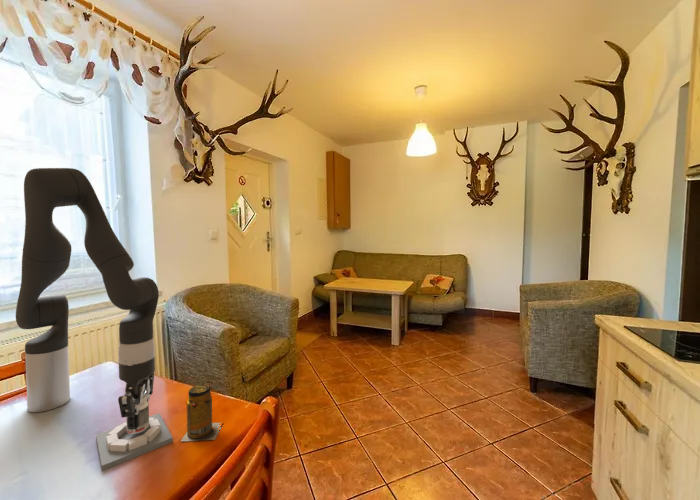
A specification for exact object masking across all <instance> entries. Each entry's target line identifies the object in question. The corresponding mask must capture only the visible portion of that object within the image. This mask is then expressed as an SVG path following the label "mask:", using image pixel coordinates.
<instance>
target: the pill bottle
mask: <svg viewBox="0 0 700 500" xmlns="http://www.w3.org/2000/svg"><path fill="white" fill-rule="evenodd" d="M137 400H138V399H133V401H137ZM149 406H150V405H149V401H147V395H146V394H143V398H142V403H141V404H140V405H139V412H138V413H139V427H138V428H137V429H131V430H129V429H128V417H126V422H127V433H129V434H137V433H140V432H142V431H144V430H146V429H147V428H148V426H149V416H150V409H149V408H150V407H149ZM134 408H135V405H134Z"/></svg>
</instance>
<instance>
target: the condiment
mask: <svg viewBox="0 0 700 500" xmlns="http://www.w3.org/2000/svg"><path fill="white" fill-rule="evenodd" d="M211 389H212V388H211V386H210V385H208V384H204V383H203V384H197V385H195V386H192V387H191V388H190V389H188V393H187V394H188V397H187V398H188V399H187V402H186V431H187V432H186V433H184V435H183V437H182V438H181V440H180V442H197V441H198V442H199V441H200V442H201V441H211V440H212V441H213V440H216V439H217V437H218V435H219V433H220V431H221V429H222V427H220V426H221V425H219V424H220V423H221V422H213V397H212V396H213V395H211V394H212V391H211ZM212 427H213V428H212ZM219 427H220V428H219ZM214 428H215V429H214ZM218 428H219V429H218ZM219 430H220V431H219Z"/></svg>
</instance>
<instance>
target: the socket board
mask: <svg viewBox="0 0 700 500" xmlns="http://www.w3.org/2000/svg"><path fill="white" fill-rule="evenodd" d="M95 438H96V446H97V451H98V456H99V462H100V468H101V471H103V472H104V471H105V470H108V469H110V468H113V467H115V466H117V465H120V464H122V463H125V462H128V461H131V460H132V459H134V458H135V459H136V458H137V457H139V456H142V455H144V454H147V453H149V452H152V451H154V450H157V449H159V448H162V447H165V446H167V445H169V444H172V443H174V442H173V441H174V440H173V439H174V438H173V436H172V434H171V431H170V430H169V429H168V426H167V424H166V423H165V420H164V419H163V417H162V415H161V413H155V414H153V415H149V426H148V428H147V429H146V430H144V431H142V432H140V433H137V434H129V433H127V421H125V422H123V423H121V424H118V425H117V426H115V428H112V429H108V430H105V431H103V432H100V433H97V434H95Z"/></svg>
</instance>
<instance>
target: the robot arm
mask: <svg viewBox="0 0 700 500" xmlns="http://www.w3.org/2000/svg"><path fill="white" fill-rule="evenodd" d="M23 180H24V181H23V199H24V215H25V219H24V220H25V221H24V222H25V224H24V226H25V228H24V237H23V238H24V239H23V247H22V256H21V281H20V282H21V283H20V288H19V293H18V297H17V302H16V308H15V322H16V325H17V326H18V327H19V328H20V329H22V330H34V329H35V330H36V329H41V328H46V327H50V328H49V329H48V330H47V331H45V332H44V333H42V334H40V335H38V336H36V337H33V338H31V339H29V340H27V342H26V343H25V345H24V355H25V356H24V357H25V376H26V383H25V384H26V401H27V402H26V405H27V406H26V407H27V411H28V412H30V413H41V412H45V411H47V412H48V411H51V410H53V409H56V408H58V407H61V406H64V404H67V403H68V402H69V401H70V400H71V390H70V389H71V387H70V362H69V361H70V356H69V355H70V354H69V314H70V313H69V312H70V311H69V307H70V306H69V300H68V298H67V296H66V295H64V294H61V293H59V294H48V295H41V294H42V293H43V292H44V291H45V290H46V289H47V288H49V286H51V285H52V284H54V283H55V282H56V281H57V280H58V279H59V278H60V277H62V276H63V274H65V273H66V272H67V270H68V269H69V266H70V262H71V255H72V245H71V242H70V241H69V240H68V238H67V237H66V235H64V234H63V232H61V231H60V229H59V228H58V227H57V226H56V225H55V224H54V221H53V215H54V214H53V213H54V210H55V209H56V208H60V207H61V208H62V207H71V206H76V207H78V208H79V210H80V211H81V212H82V214H83V216H84V219H85V231H84V240H83V241H84V242H83V243H84V248H85V251H86V253H87V255H88V256H89V257H88V258H89V259H90V260H91V261H92V263H93V264H94V265H95V267H96V269H97V270H98V271H99V273H100V274H101V277H102V281H103V284H104V288H105V291H106V293H107V296H108V299H109V301H111V303H112V305H114V307H116V308H118V309H120V310H123V311H129V312H128V313H127V315H126V316H125V317H124V318H122V319H121V320H120V322H119V325H118V326H119V327H118V331H119V332H118V333H119V334H118V335H119V343H118V345H119V346H118V351H117V352H118V354H117V355H118V378H119V380H121V381H123V382H125V388H124V395H120V396H119V395H118V396H119V397H118V398H117V400H118V407H119V411H120V416H121V418H123V419H124V418H127V417H128V429H129V430H131V429H137V428H138V427H139V413H138V412H139V405H140V404H141V403H142V398H143V394H146V395H147V401H148V402H149V401H150V399H151V396H152V395H153V393H154V380H155V371H156V365H155V364H156V357H155V355H156V354H155V351H156V350H155V341H154V317H155V316H156V310H157V307H158V303H159V297H160V296H159V295H160V294H159V292H160V291H159V288H158V284H157V283H156V282H155V281H154V279H152V278H150V277H137V278H134V279H132V276H131V275H130V271H131V270H132V269H133V268H134V266H135V263H134V260H133V259H132V257H131V256H130V254H129V253H128V251H127V250H126V248H125V247H124V246H123V244H122V243H121V241H120V240H119V239H118V236H116V233H115V232H114V230H113V228H112V226H111V224H110V222H109V219H108V218H107V215H106V212H105V210H104V208H103V207H102V204H101V202H100V200H99V198H98V195H97V194H96V191H95V188H94V187H93V185H92V183H91V182H90V180H89V178H88V177H87V176H86V175H85V173H83V172H82V171H81V170H78V169H77V168H71V167H70V168H69V167H46V168H45V167H40V168H39V167H38V168H32V169H30V170H28V171H27V172H26V174H25V176H24V179H23ZM150 395H151V396H150ZM133 399H138V400H137V401H133ZM134 405H135V408H134Z"/></svg>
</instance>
